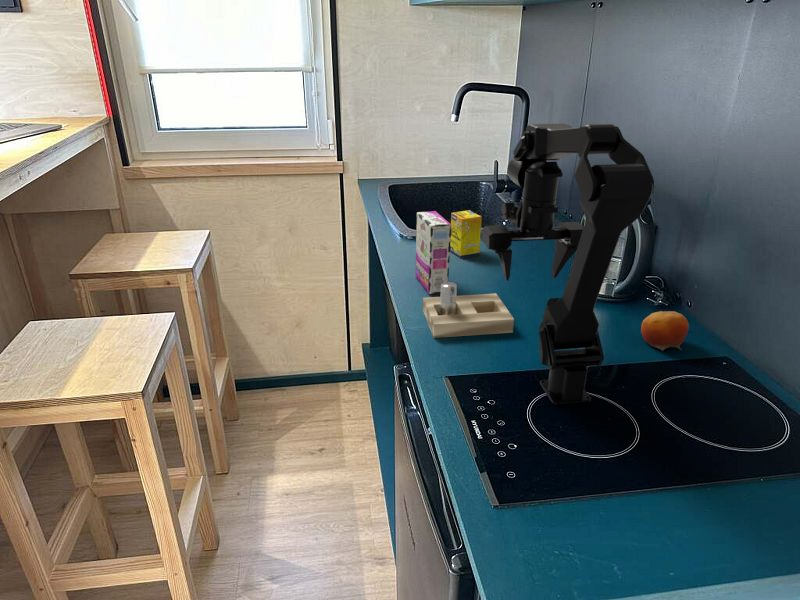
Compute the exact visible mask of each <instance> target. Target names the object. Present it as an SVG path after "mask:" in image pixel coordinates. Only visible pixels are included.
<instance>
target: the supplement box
mask: <svg viewBox="0 0 800 600" xmlns="http://www.w3.org/2000/svg"><path fill="white" fill-rule="evenodd" d="M482 218H483V216H482V215H478V214H477V213H475V212H473V211H472V210H471V209H469V210H462V211H455V212H451V214H450V224H451V243H450V253H453V254H454V255H455V256H456V257H458V258H459V257H460V258H459V259H465V258H464V257H466V258H471V257H470V256H472V257H476V256H477V257H478V256H479V255H480V247H481V246H480V245H481V234H482Z"/></svg>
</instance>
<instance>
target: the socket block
mask: <svg viewBox="0 0 800 600" xmlns="http://www.w3.org/2000/svg"><path fill="white" fill-rule="evenodd" d="M422 312H423V314H424V316H425V319H426V323H427V325H428V327H429V329H430V331H431V335H432V337H433V339H436V338H437V339H438V338H450V337H452V338H453V337H454V338H455V337H463V336H465V337H468V336H479V335H480V336H481V335H497V334H509V333H510V334H511V333H514V324H515V319H514V317H513V315H512V314H511V313H510V311H509V310H508V308H507V307H506V305H505V304H504V302H503V301H502V300H501V298H500V297H499V295H498V294H497V293H484V294H483V293H482V294H466V295H463V294H462V295H456V313H455V315H440V296H432V297H431V296H430V297H429V296H428V297H422Z"/></svg>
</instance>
